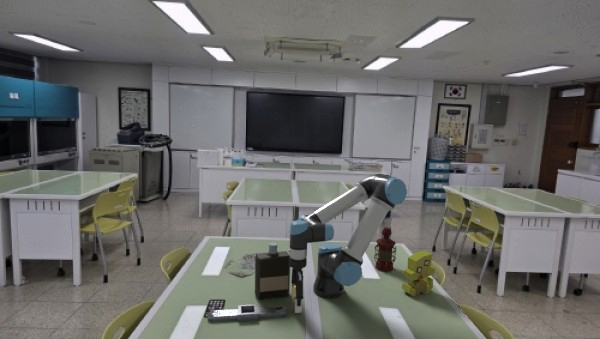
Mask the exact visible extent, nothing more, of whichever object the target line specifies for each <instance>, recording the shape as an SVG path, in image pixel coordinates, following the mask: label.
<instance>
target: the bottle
mask: <svg viewBox="0 0 600 339" xmlns="http://www.w3.org/2000/svg"><path fill="white" fill-rule="evenodd" d="M255 254H256V256H255V269H254V271H255V274H254V295H255V297H256V298H257V300H264V299H265V300H266V299H274V298H282V297H289V295H290V289H291V288H290V285H291V284H290V283H291V280H290V279H291V278H290V277H291V267H290V266H289V257H290V256H289V252H288V250H285V251H283V250H282V251H278V243H276V242H270V243H268V252H256V253H255Z"/></svg>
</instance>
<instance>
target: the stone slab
mask: <svg viewBox="0 0 600 339" xmlns="http://www.w3.org/2000/svg"><path fill="white" fill-rule="evenodd" d="M246 254H247V255H245V254H244V255H242V257H243V258H242V257H241V258H240V259H238V261H237V260H234V259H233V258H232V259H230V260H229V261H228V262H227V263H226V265H225V266H224V267H223V268H228V267H229V266H230V265H232V264H233V263H236V265H238V269H240V270H248V272H250V273H246V272H242V271H236V272H233V271H231V272H230V271H229V272H227V273H228V274H232V275H235V276H237V277H238V276H239V277H245V276H250V275H255V258H253V257H255V255H256V253H246ZM251 257H252V258H253V259H251ZM244 258H245V259H246V258H247V259H246V260H245V259H244ZM248 258H249V259H248ZM243 260H244V261H243ZM242 261H243V262H242ZM253 265H254V266H253ZM251 268H252V269H251ZM251 271H252V273H251ZM253 271H254V272H253Z"/></svg>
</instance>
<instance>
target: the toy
mask: <svg viewBox="0 0 600 339" xmlns="http://www.w3.org/2000/svg"><path fill="white" fill-rule="evenodd" d="M432 259H433V253H431V252H429V251H427V250H424V249H423V250H421V251H417V252H414V253H412V254H411V255H409V256H408V257H407V268H405V269H404V270H403V277H404V278H406V279H408V282H407V283H406V282H402V284H401V289H402V290H403V291H404V292H406V293H407V294H409V295H410V296H412V297H416V296H419V295H420V293H421V294H428V293H430V292H431V291H432V289H434V279H433V278H431V277H430V276H434V275H435V271H436V267H434V266H432V261H433V260H432Z"/></svg>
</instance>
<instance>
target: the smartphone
mask: <svg viewBox="0 0 600 339" xmlns="http://www.w3.org/2000/svg"><path fill="white" fill-rule="evenodd" d="M225 304H226V299H221V298H219V299H215V298H214V299H209V300H208V302H207V306H206V309H205V311H204V313H203V318H207V319H208V313H209V312H210V311H213V310H224V309H225Z"/></svg>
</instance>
